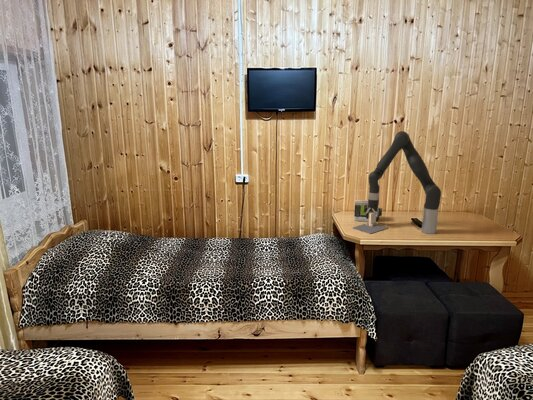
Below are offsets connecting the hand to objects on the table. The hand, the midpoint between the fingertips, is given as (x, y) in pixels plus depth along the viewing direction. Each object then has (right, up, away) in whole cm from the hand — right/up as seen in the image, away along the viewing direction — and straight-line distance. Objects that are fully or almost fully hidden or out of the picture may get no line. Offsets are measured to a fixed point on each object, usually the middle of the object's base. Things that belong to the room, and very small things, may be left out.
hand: (372, 219), depth 279 cm
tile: (0, -4, +1) cm, 4 cm away
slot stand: (0, -4, +1) cm, 4 cm away
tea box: (-2, -1, +15) cm, 15 cm away
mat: (-3, -6, -5) cm, 8 cm away
